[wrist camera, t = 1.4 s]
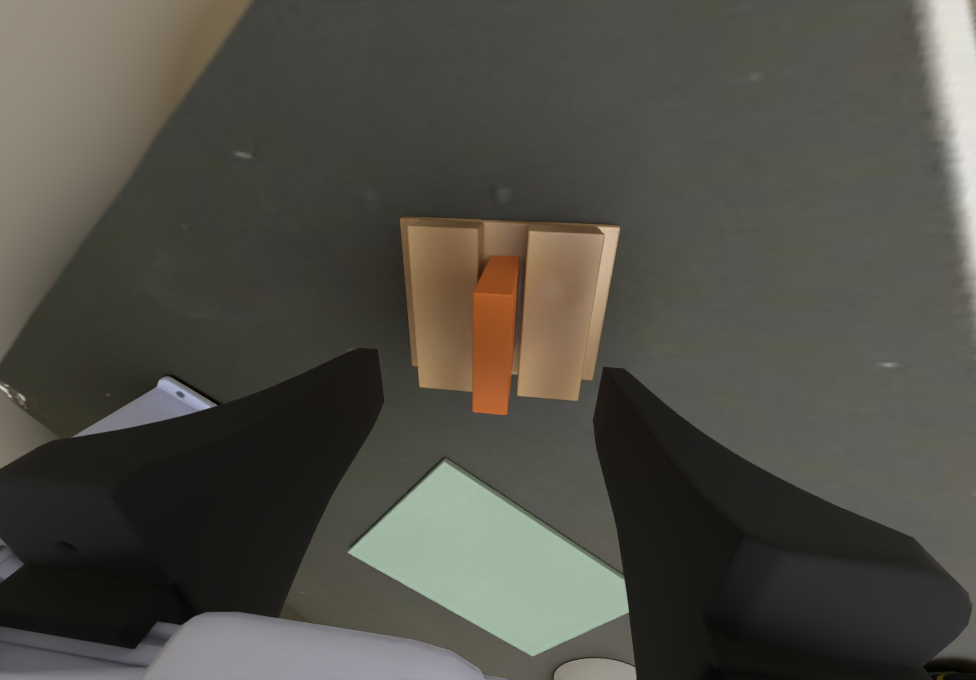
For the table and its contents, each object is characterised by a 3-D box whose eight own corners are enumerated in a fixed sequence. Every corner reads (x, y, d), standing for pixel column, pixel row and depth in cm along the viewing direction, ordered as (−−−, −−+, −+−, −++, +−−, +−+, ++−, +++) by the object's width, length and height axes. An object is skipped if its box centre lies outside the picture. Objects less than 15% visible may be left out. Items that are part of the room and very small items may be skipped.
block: (488, 348, 19) (472, 412, 14) (490, 254, 17) (472, 292, 12) (514, 350, 19) (507, 416, 14) (520, 256, 17) (514, 294, 12)
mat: (349, 547, 30) (347, 552, 29) (445, 457, 24) (444, 461, 23) (532, 651, 33) (532, 656, 33) (653, 594, 28) (655, 600, 27)
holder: (415, 361, 21) (399, 386, 18) (403, 216, 17) (382, 224, 15) (591, 375, 20) (598, 403, 17) (618, 224, 16) (632, 235, 14)
